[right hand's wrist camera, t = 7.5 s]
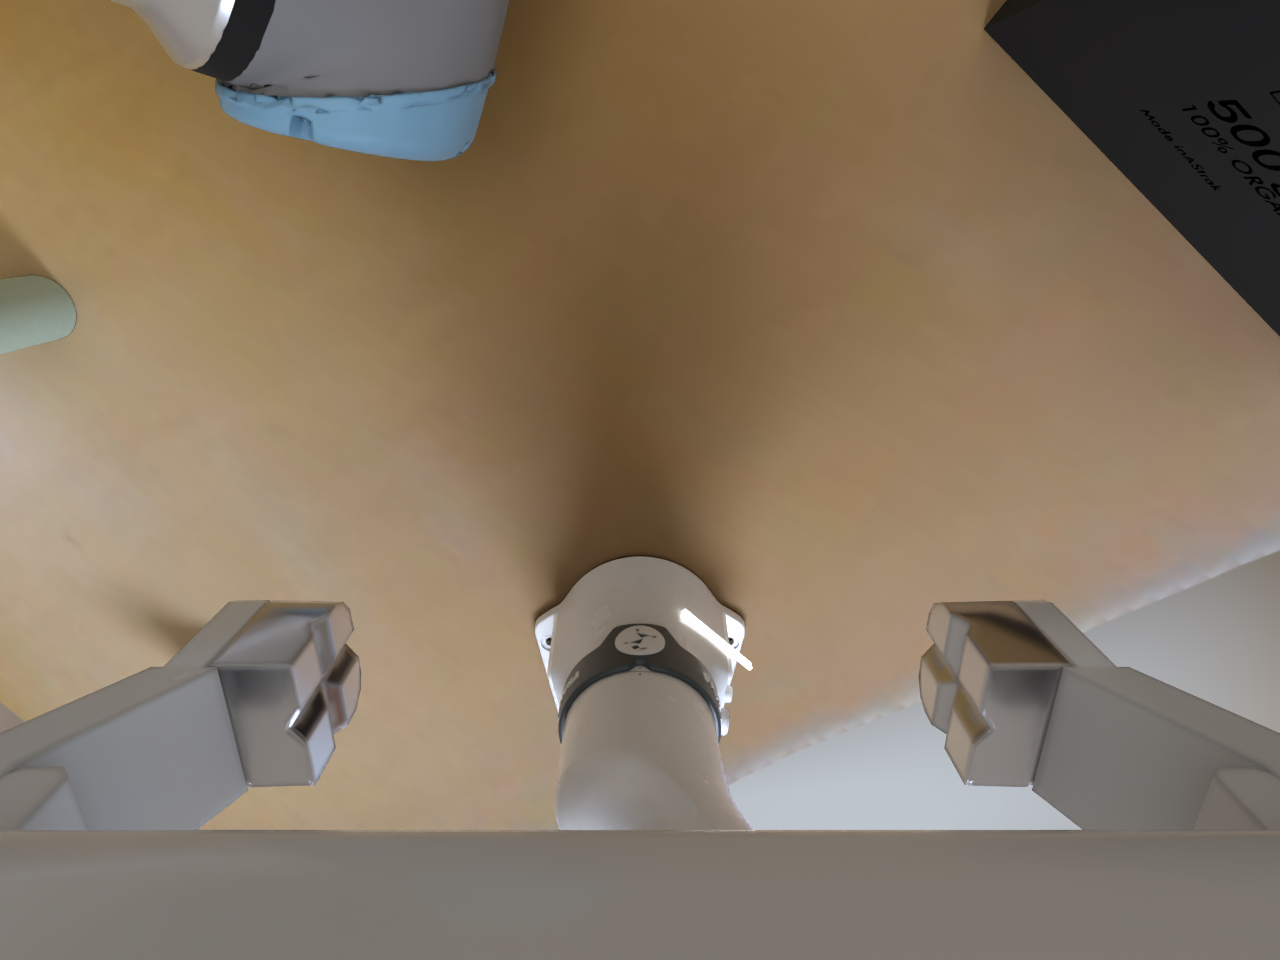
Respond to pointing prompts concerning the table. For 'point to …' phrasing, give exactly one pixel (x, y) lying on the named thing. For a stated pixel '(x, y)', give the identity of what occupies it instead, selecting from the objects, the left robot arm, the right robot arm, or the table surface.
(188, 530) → the table surface
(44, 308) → the jar
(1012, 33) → the black computer case
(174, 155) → the table surface
